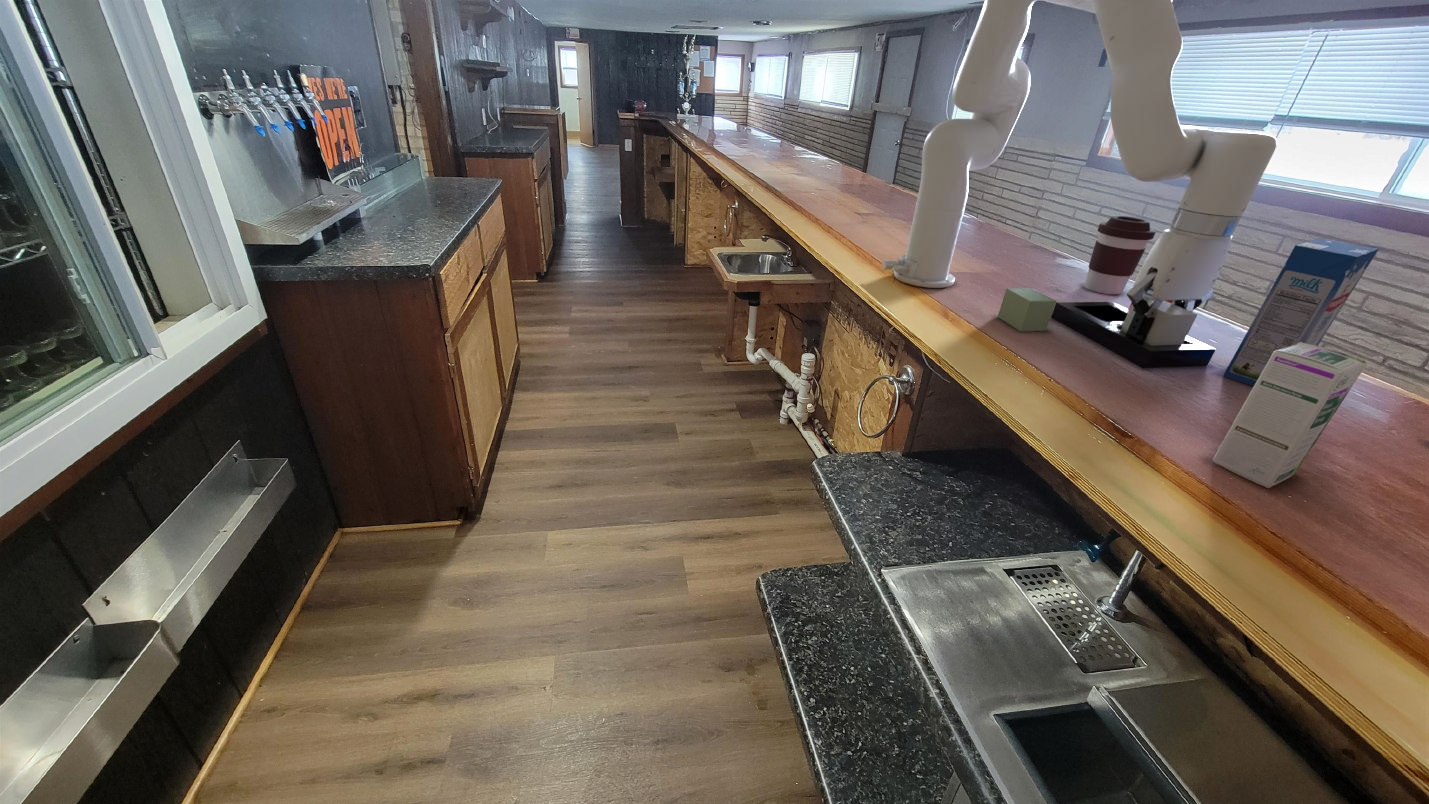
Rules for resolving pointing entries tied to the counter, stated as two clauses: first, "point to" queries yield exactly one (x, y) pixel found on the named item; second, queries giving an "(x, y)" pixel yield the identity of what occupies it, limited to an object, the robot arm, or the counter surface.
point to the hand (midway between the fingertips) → (1150, 336)
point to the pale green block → (1026, 309)
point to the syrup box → (1287, 412)
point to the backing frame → (1128, 336)
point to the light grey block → (1166, 324)
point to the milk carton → (1300, 303)
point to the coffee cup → (1117, 253)
